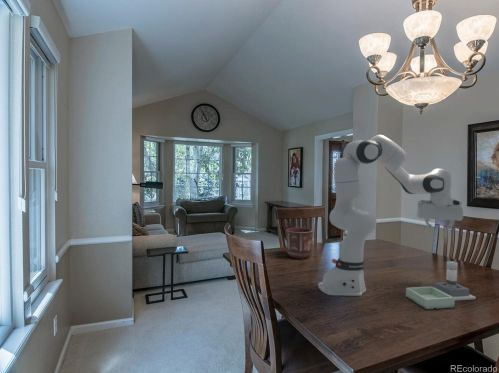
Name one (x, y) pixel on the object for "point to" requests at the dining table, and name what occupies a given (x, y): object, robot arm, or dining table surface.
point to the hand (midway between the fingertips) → (439, 228)
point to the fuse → (451, 274)
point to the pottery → (299, 242)
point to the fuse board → (454, 291)
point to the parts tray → (430, 297)
